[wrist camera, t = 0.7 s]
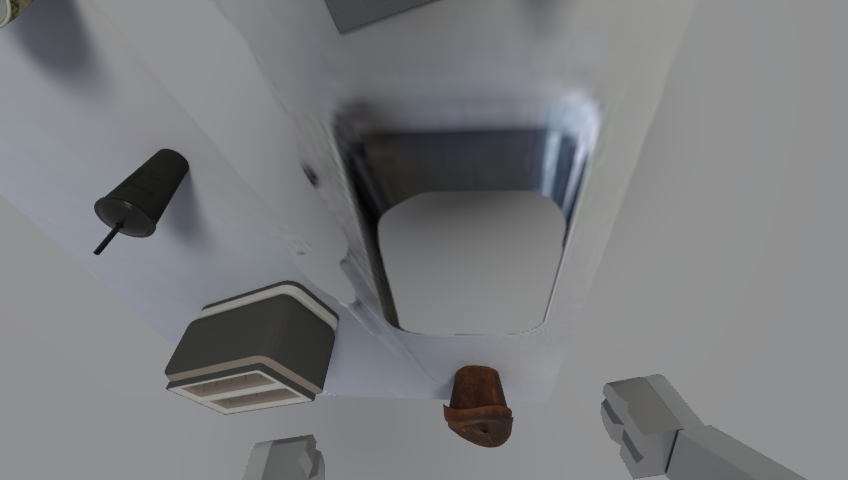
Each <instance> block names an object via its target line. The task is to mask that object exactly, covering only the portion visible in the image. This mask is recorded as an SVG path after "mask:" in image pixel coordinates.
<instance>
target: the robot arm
mask: <svg viewBox="0 0 848 480" xmlns="http://www.w3.org/2000/svg"><path fill="white" fill-rule="evenodd" d="M603 394H604V395H605V397H606V399H605V400H604V401H603V402H602V403H601V415H602V419H603V423H604V426H605V428H606V430H607V432H608V434H609V436H610V438H611V439H612V440H614V441H615V442H617V443H618V444H620V445H621V449H620V456H621V458H622V459H623V461H624V463H625V465H626V467H627V468H628V470H629V472H630V474H631V475H632V477H633V479H637V478H644V477H651V476H658V475H664V474H666V477H668V478H669V479H670V480H807V479H805V478H804V477H802V476H800V475H798V474H797V473H795V472H793V471H791V470H789V469H788V468H786V467H784V466H782V465H780V464H779V463H777V462H775V461H773V460H772V459H770V458H768V457H766V456H764V455H763V454H761V453H759V452H757V451H756V450H754V449H752V448H750V447H748V446H747V445H745V444H743V443H741V442H740V441H738V440H736V439H734V438H732V437H731V436H729V435H727V434H725V433H724V432H722V431H720V430H718V429H716V428H715V427H713V426H711V425H709V426H704V424H703V423H702V422H701V421H700V419H699V418H698V417H697V416H696V414H695V413H694V412H693V411H692V410H691V408H690V407H689V406H688V405H687V403H686V402H685V401H684V400H683V399H682V397H681V396H680V395H679V394H678V392H677V391H676V390H675V389H674V387H673V386H672V385H671V384H670V383H669V382H668V380H667V379H666V378H665V377H664V376H663V375H661V374H656V375H651V376H646V377H637V378H632V379H626V380H621V381H616V382H611V383H606V384H605V385H604V388H603ZM315 447H316V440H315V438H314V436H313V435H306V436H299V437H293V438H287V439H279V440H273V441H267V442H260V443H256V444H255V446H254V447H253V449H252V450H251V454H250V457H249V460H248V463H247V466H246V470H245V473H244V476H243V479H242V480H325V464H324V459H323V456H322V454H321V452H320V451H318V450H316V449H315Z"/></svg>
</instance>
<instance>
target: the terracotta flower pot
mask: <svg viewBox="0 0 848 480" xmlns="http://www.w3.org/2000/svg"><path fill="white" fill-rule="evenodd" d="M443 406H444V417H445V420H446V421H447V422H448V426H449V428H450V429H451V430H453V431H454V432H456V433H457V434H458V435H459V436H461V437H462V438H464V439H466V440H468V441H470V442H472V443H474V444H477V445H480V446H484V447H497V446H500V445H502V444H504V443H505V441H507V439H508V438H509V437H510V435H511V430H512V422H513V417H511V416H512V411H511V409H509V408H508V407H507V404H506V400H505V397H504V393H503V389H502V385H501V382H500V378H499V374H498V372H497V371H496V370H494V369H491V368H488V367H483V366H467V367H464V368H462V369H460V370H459V371H458V372H457V373H456V376H455V381H454V386H453V391H452V396H451V400H450V406H449V407H447V406H445V405H443Z"/></svg>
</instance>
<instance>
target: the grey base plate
mask: <svg viewBox="0 0 848 480" xmlns="http://www.w3.org/2000/svg"><path fill="white" fill-rule="evenodd" d="M325 1H326V3H327V5H328V8H329V10H330V12H331V14H332V16H333V19H334V21H335V23H336V25H337V28H338V30H339V32H342V31H345V30H348V29H351V28H354V27H357V26H360V25H362V24H365V23H368V22H371V21H374V20H377V19H380V18H383V17H385V16H388V15H391V14H394V13H397V12H400V11H403V10H405V9H408V8H411V7H414V6H417V5H420V4H423V3H426V2H428V1H431V0H325Z"/></svg>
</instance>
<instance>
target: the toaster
mask: <svg viewBox="0 0 848 480" xmlns="http://www.w3.org/2000/svg"><path fill="white" fill-rule="evenodd" d="M338 320H339V318H338V315H337V314H336V313H335V312H334V311H333V310H332V309H330V308H329V307H328V306H327V305H326V304H324V303H323V302H322V301H321V300H319V299H318V298H317V297H316V296H315V295H313V294H312V293H311V292H310V291H309V290H307V289H306V288H305V287H304V286H302V285H301V284H299V283H297V282H294V281H282V282H279V283H276V284H273V285H270V286H267V287H264V288H260V289H257V290H254V291H251V292H248V293H245V294H242V295H238V296H235V297H232V298H229V299H226V300H223V301H219V302H216V303H213V304H210V305H207V306H205V307H204V308H203V309H202V311H201V313H200V315H199V317H198V319H197V320H194V321H193V322H191V323H190V325H189V326H188V327H187V329H186V331H185V333H184V335H183V337H182V339H181V341H180V342H179V344H178V346H177V348H176V350H175V352H174V354H173V356H172V357H171V359H170V361H169V363H168V365H167V367H166V369H165V374H166V376H167V377H168V379H169V380H170V381H171V382H169V384H168V385H167V387H166V389H167V390H169V391H172V392H174V393H176V394H179V395H181V396H183V397H186V398H188V399H190V400H193V401H195V402H197V403H199V404H202V405H205V406H206V407H209V408H211V409H214V410H216V411H218V412H220V413H223V414H226V415H227V414H233V413H240V412H246V411H252V410H259V409H266V408H272V407H279V406H285V405H291V404H298V403H304V402H311V401H314V399H315V395H316V394H319V393H322V391H323V386H324V382H325V378H326V374H327V370H328V366H329V362H330V357H331V353H332V349H333V345H334V341H335V336H334V331H335V330H336V328H337V324H338Z"/></svg>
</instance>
